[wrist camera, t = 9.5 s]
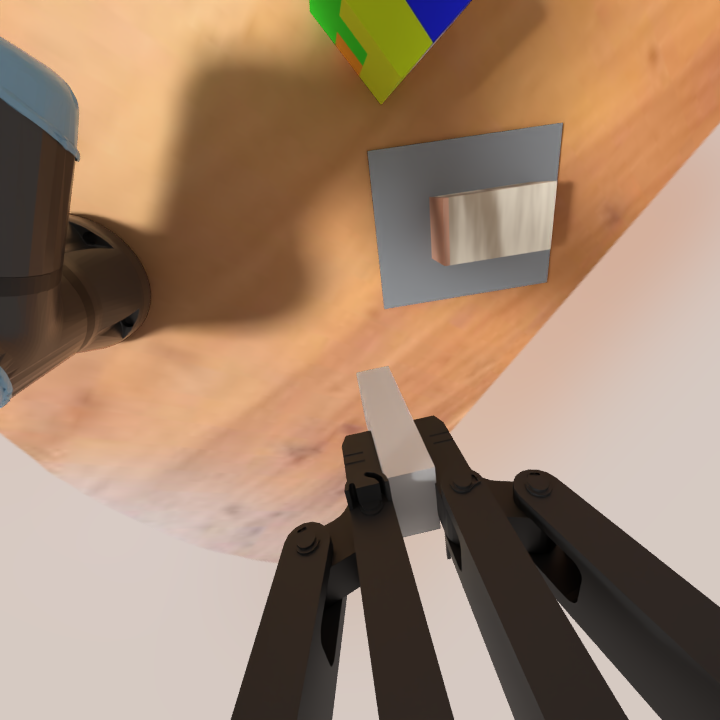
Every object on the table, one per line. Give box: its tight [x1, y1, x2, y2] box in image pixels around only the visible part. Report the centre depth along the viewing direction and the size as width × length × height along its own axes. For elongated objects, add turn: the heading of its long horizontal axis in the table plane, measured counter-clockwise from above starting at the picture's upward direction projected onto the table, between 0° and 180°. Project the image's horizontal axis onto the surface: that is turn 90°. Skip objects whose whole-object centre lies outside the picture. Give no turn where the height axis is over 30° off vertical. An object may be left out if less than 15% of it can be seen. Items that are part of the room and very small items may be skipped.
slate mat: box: [367, 123, 563, 309], centre depth 43 cm, size 22×18×1 cm
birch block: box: [429, 181, 557, 266], centre depth 41 cm, size 5×7×12 cm
